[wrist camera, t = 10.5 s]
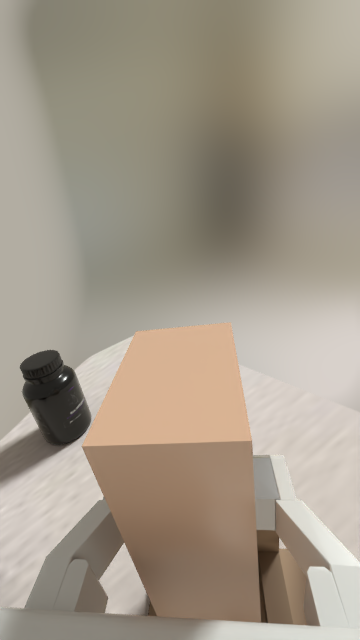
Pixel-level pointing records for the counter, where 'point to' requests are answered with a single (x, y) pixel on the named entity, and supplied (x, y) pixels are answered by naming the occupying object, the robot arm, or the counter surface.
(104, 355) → the counter surface
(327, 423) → the counter surface
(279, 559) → the tan railed base plate
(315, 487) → the counter surface
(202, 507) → the clay block
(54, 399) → the supplement bottle
